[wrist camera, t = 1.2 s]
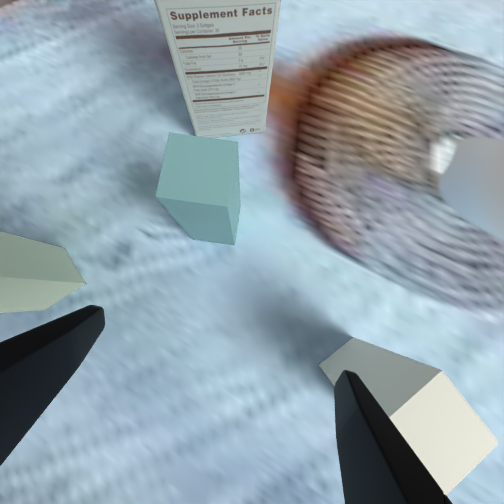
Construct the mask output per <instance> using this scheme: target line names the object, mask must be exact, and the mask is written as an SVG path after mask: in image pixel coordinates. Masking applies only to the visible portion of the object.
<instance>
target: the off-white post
mask: <svg viewBox="0 0 504 504" xmlns="http://www.w3.org/2000/svg"><path fill="white" fill-rule="evenodd" d="M319 366H320V367H321V369H322V370H323V372H324V373H325V374H326V376H327V377H328V379H329V380H330V381H331V383H332V384H333V386H334V387H335V383H336V381H337V380H338V378H339V376H340V375H341V373H342V371H343V370H349V371H353V372H355V373H356V374H357V375H358V376H359V377H360V379H361V380H362V381H363V383H364V384H365V385H366V387H367V388H368V389H369V391H370V392H371V394H372V395H373V396H374V398H375V399H376V400H377V402H378V403H379V404H380V406H381V407H382V409H383V410H384V411H385V413H386V414H387V415H388V417H389V418H390V419H391V421H392V422H393V424H394V425H395V426H396V428H397V429H398V430H399V432H400V433H401V434H402V436H403V437H404V438H405V440H406V441H407V443H408V444H409V445H410V447H411V448H412V449H413V451H414V452H415V453H416V455H417V456H418V458H419V459H420V460H421V462H422V463H423V464H424V466H425V467H426V468H427V470H428V471H429V473H430V474H431V475H432V477H433V478H434V479H435V481H436V482H437V483H438V485H439V486H440V488H441V489H442V490H443V492H444V494H445V495H447V494H448V493H449V492H450V491H451V490H452V489H453V488H454V487H455V486H456V485H458V484H459V483H460V482H461V481H462V480H463V479H464V478H465V477H466V476H467V475H468V474H469V473H470V472H471V471H472V470H473V469H474V468H475V467H476V466H477V465H478V464H479V463H480V462H481V461H482V460H483V459H484V458H485V457H486V456H487V455H488V454H489V453H490V452H491V451H492V450H493V449H494V448H495V447H496V446H497V445H498V444H499V442H498V441H497V439H496V438H495V437H494V436H493V434H492V433H491V432H490V430H489V429H488V428H487V427H486V425H485V424H484V423H483V422H482V420H481V419H480V418H479V416H478V415H477V414H476V413H475V411H474V410H473V409H472V408H471V406H470V405H469V404H468V403H467V401H466V400H465V399H464V397H463V396H462V395H461V394H460V392H459V391H458V390H457V389H456V387H455V386H454V385H453V383H452V382H451V381H450V380H449V378H448V377H447V376H446V375H445V373H444V372H443V371H442V370H440V369H437V368H435V367H432V366H429V365H426V364H424V363H421V362H418V361H416V360H413V359H410V358H408V357H405V356H402V355H400V354H397V353H394V352H392V351H389V350H386V349H383V348H381V347H378V346H375V345H373V344H370V343H367V342H365V341H362V340H359V339H357V338H354V337H353V338H351V339H350V340H349V341H348V342H346V343H345V344H344V345H343V346H341V347H340V348H339V349H338V350H337V351H335V352H334V353H333V354H332V355H330V356H329V357H328V358H327V359H325V360H324V361H323V362H322V363H320V364H319Z"/></svg>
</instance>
